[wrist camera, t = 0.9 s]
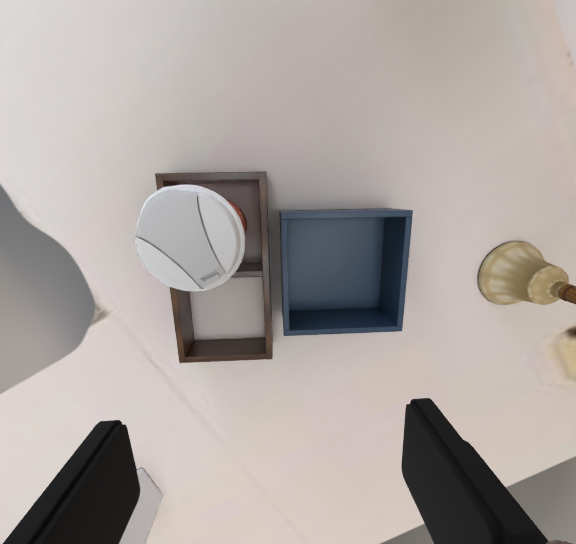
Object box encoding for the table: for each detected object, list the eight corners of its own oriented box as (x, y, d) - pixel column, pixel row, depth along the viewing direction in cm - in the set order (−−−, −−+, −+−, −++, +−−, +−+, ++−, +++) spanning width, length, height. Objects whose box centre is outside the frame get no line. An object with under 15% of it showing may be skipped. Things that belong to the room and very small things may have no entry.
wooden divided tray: (169, 176, 31) (154, 173, 27) (266, 175, 31) (265, 171, 28) (189, 345, 36) (179, 363, 32) (272, 342, 37) (272, 359, 33)
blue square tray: (279, 210, 32) (280, 213, 27) (388, 208, 33) (413, 210, 27) (282, 313, 36) (284, 336, 30) (381, 310, 36) (402, 331, 30)
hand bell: (547, 288, 37) (747, 354, 21) (486, 314, 37) (637, 396, 22) (535, 229, 34) (746, 254, 19) (470, 257, 35) (625, 303, 20)
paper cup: (268, 235, 33) (265, 261, 20) (214, 269, 34) (174, 316, 20) (230, 175, 31) (197, 157, 18) (173, 212, 32) (100, 222, 18)
